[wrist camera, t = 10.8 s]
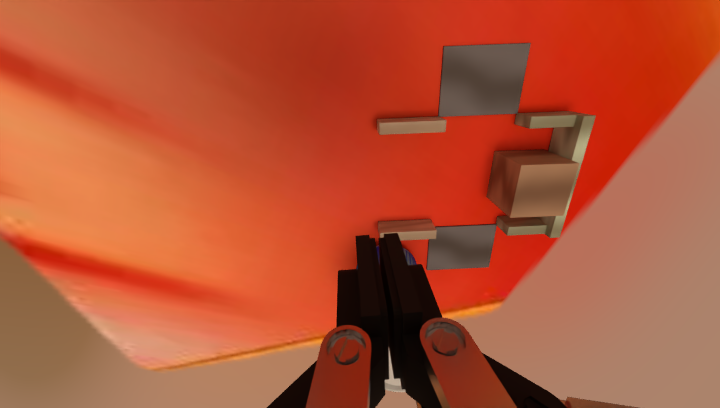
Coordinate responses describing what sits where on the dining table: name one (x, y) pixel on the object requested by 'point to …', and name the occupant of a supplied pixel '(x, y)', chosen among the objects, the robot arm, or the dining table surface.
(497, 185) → the walnut block
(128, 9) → the dining table surface
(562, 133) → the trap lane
